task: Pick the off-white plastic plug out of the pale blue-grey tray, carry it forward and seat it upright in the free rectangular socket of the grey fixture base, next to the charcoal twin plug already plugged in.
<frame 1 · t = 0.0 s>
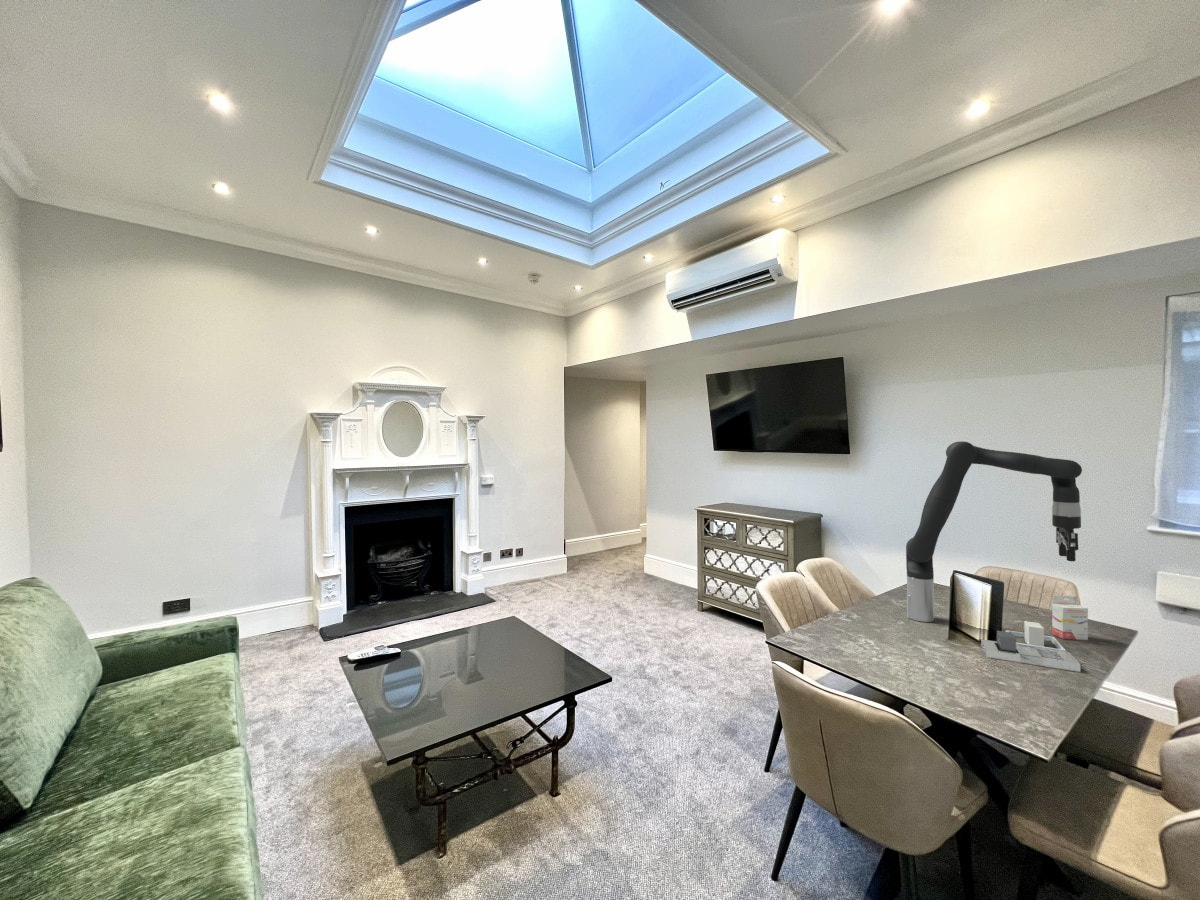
hand: (1067, 558, 175), 29 cm above the table, fingers open, 8 cm apart
grey fixture base: (1027, 658, 160), on the table
ink cartridge box: (1070, 637, 176), on the table
plug: (1034, 634, 171), in the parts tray
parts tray: (1034, 644, 171), on the table
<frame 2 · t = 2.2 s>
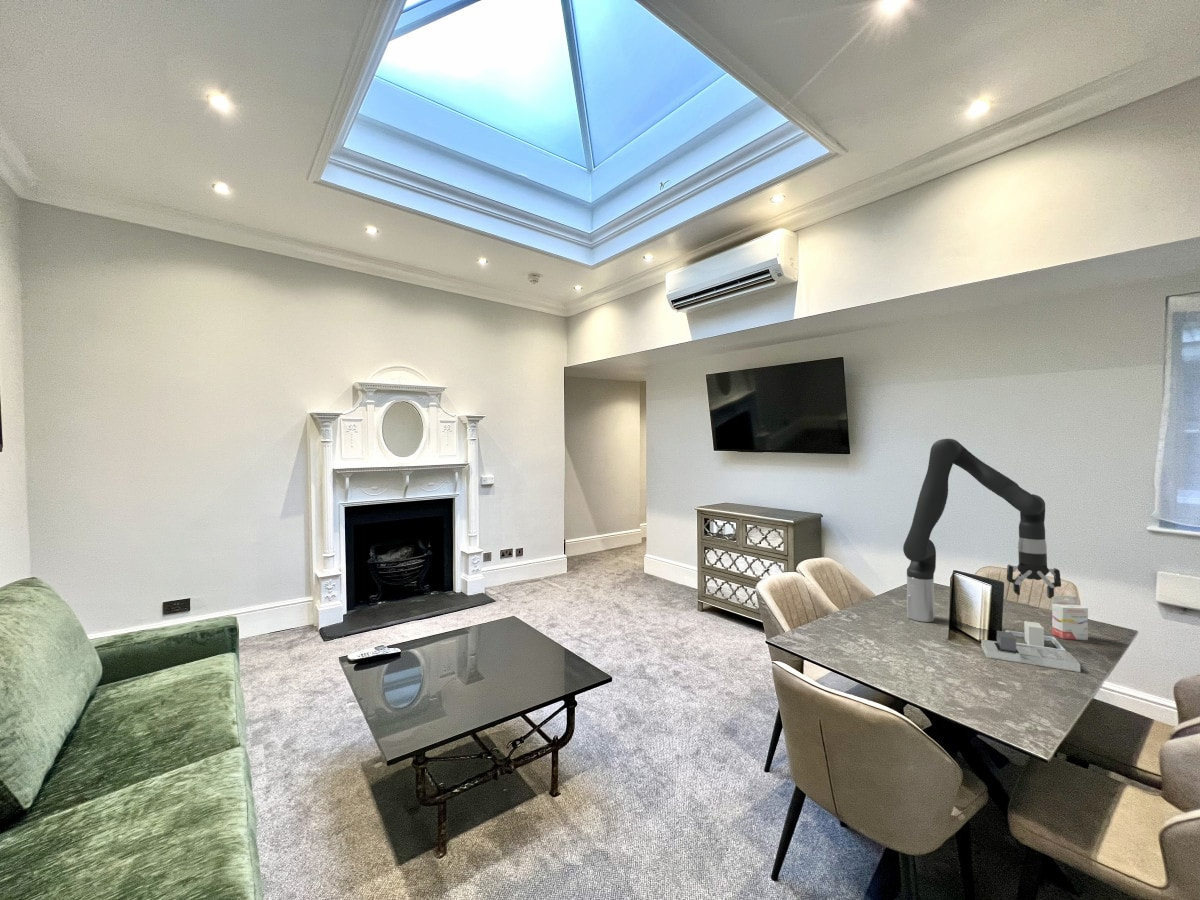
hand: (1033, 596, 171), 17 cm above the table, fingers open, 8 cm apart
nothing on the table moved.
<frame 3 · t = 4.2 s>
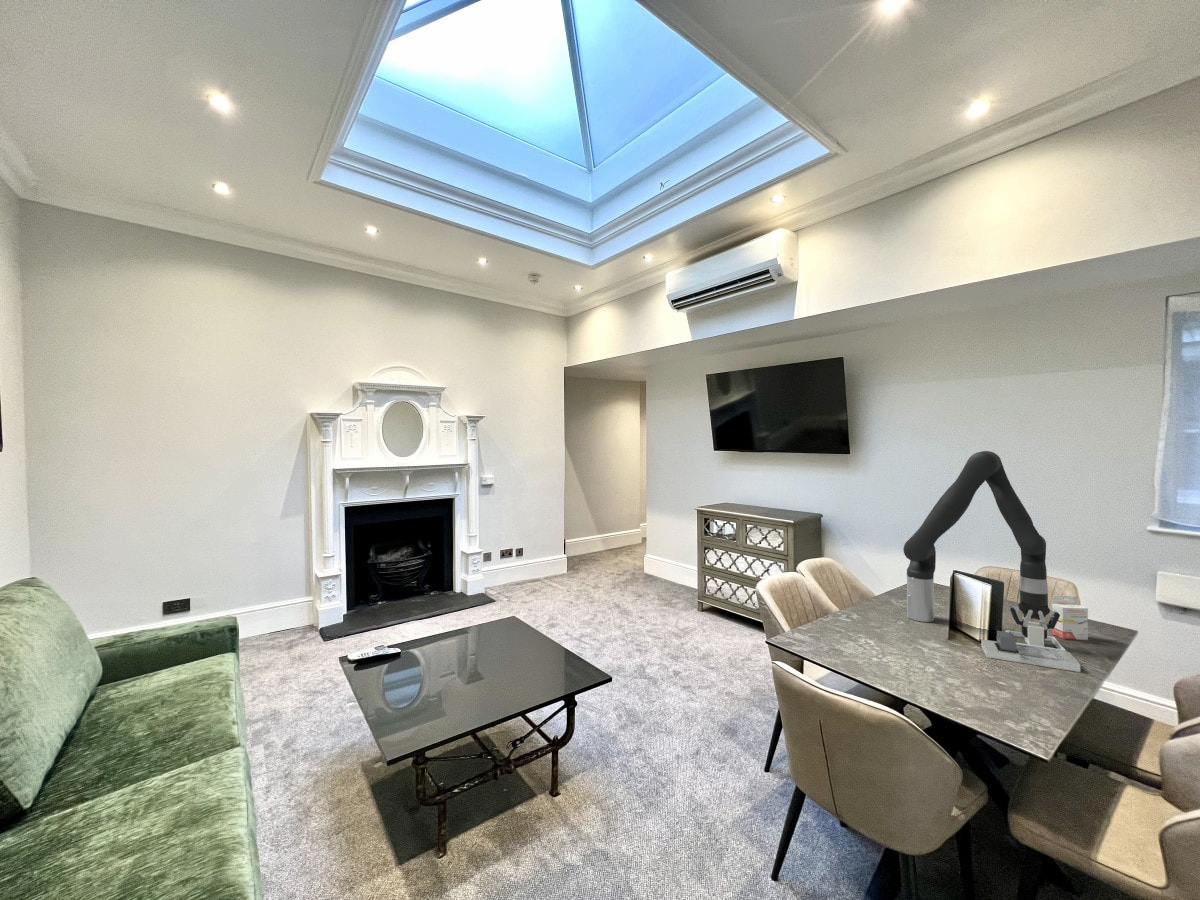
hand: (1034, 637, 171), 2 cm above the table, fingers closed on plug, 4 cm apart
plug: (1034, 634, 171), in the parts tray, touching gripper
everything else where it was.
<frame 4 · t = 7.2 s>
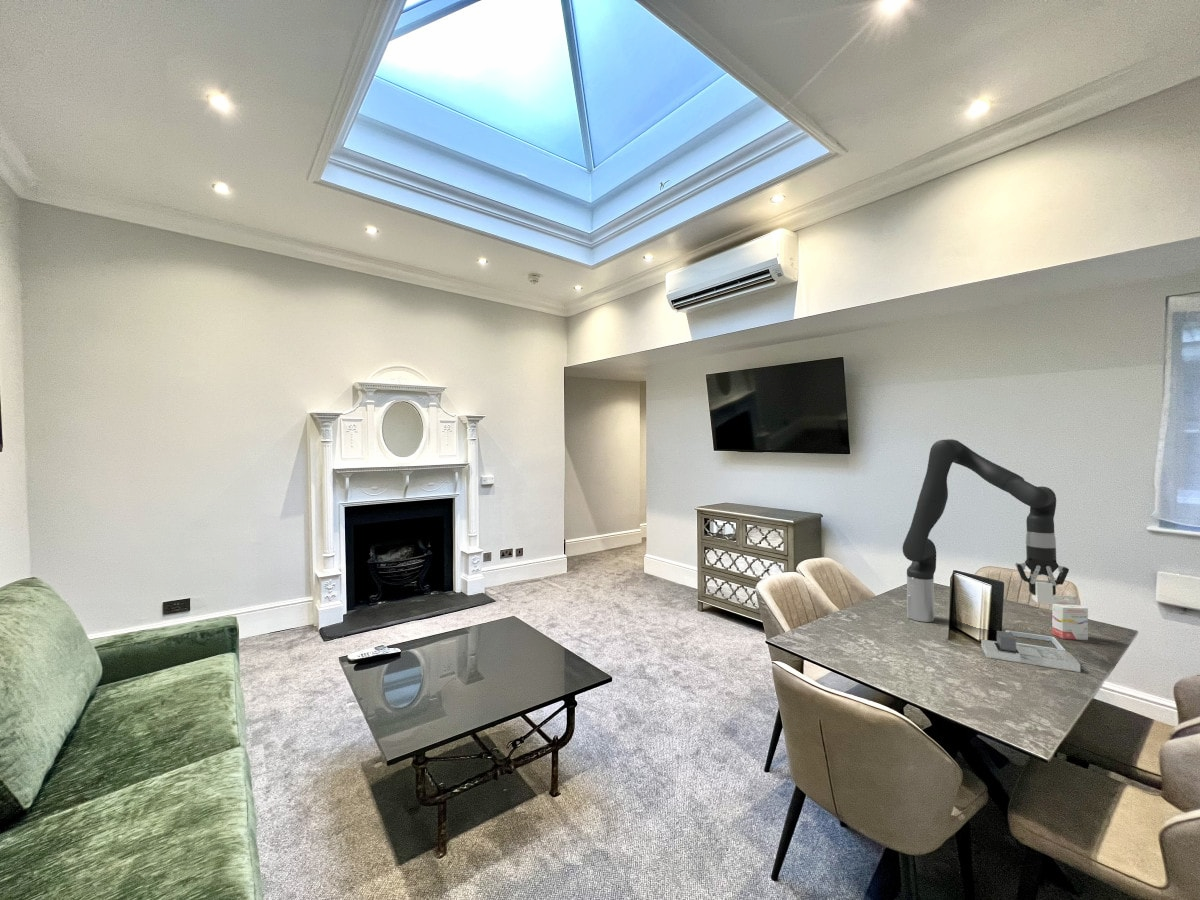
hand: (1042, 594, 164), 20 cm above the table, fingers closed on plug, 4 cm apart
plug: (1042, 591, 164), point 21 cm above the table, touching gripper
everything else where it was.
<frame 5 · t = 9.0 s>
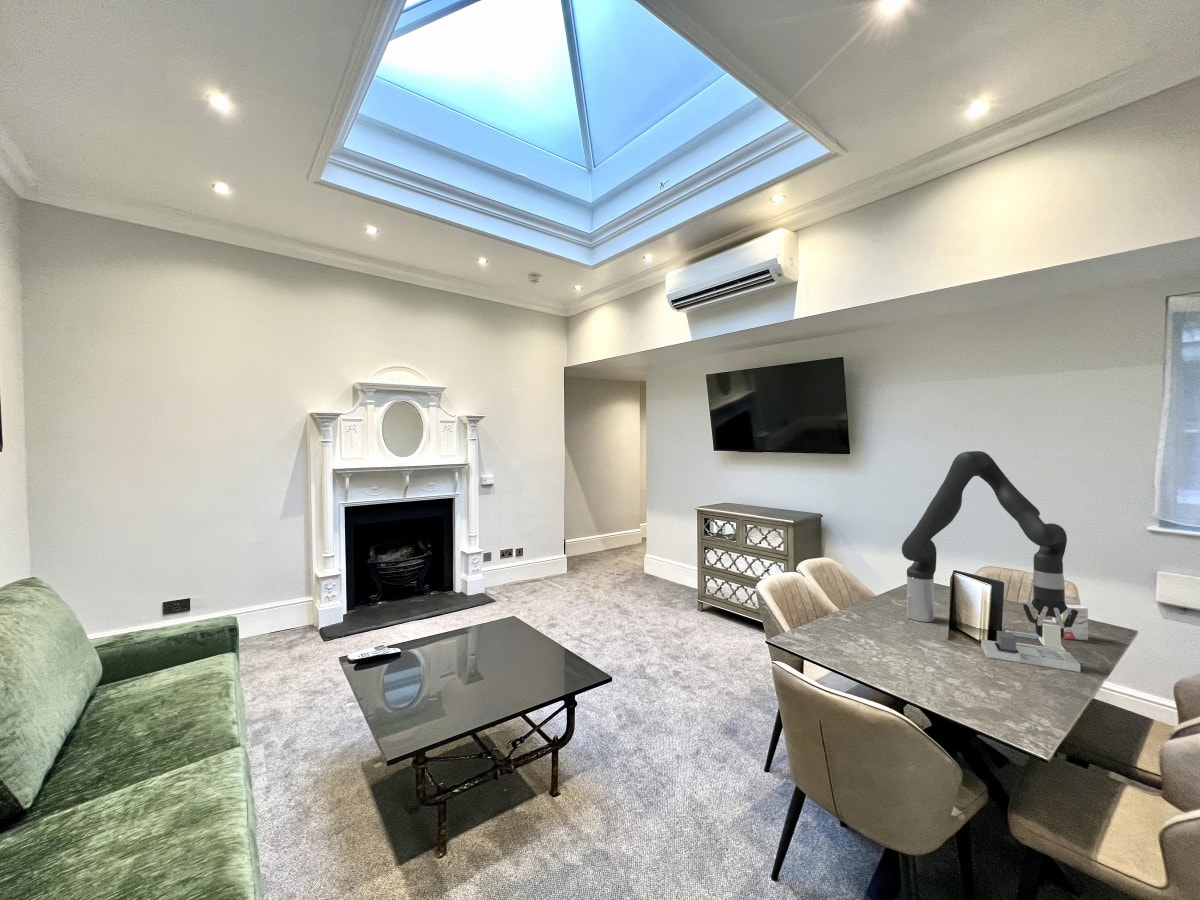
hand: (1049, 637, 157), 8 cm above the table, fingers closed on plug, 4 cm apart
plug: (1049, 633, 157), point 9 cm above the table, touching gripper
everything else where it was.
when the fingers open (3 cm above the table, at t = 10.4 s): plug stays where it is, resting in grey fixture base.
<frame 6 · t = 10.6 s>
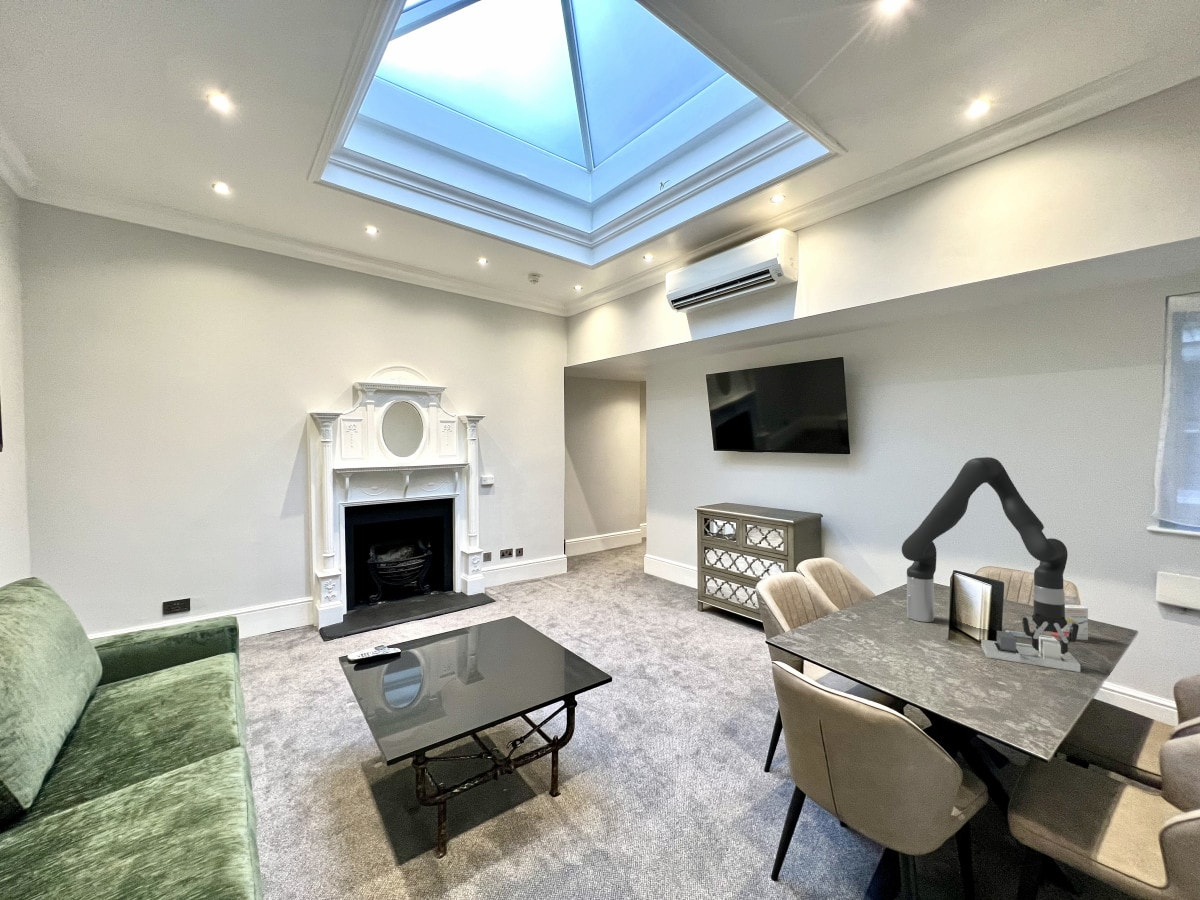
hand: (1049, 651, 157), 4 cm above the table, fingers open, 6 cm apart
plug: (1049, 651, 157), resting in grey fixture base
everything else where it was.
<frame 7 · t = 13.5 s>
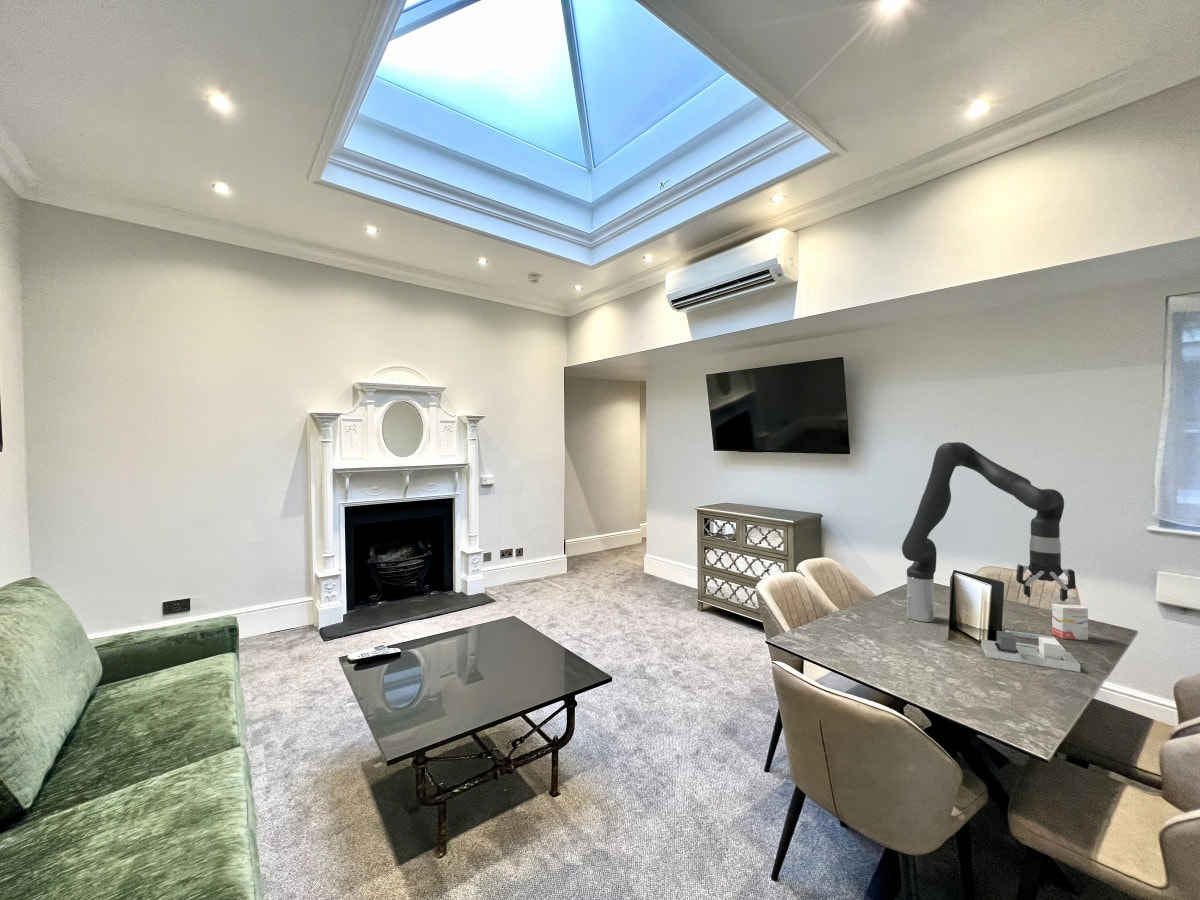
hand: (1045, 598, 158), 20 cm above the table, fingers open, 8 cm apart
nothing on the table moved.
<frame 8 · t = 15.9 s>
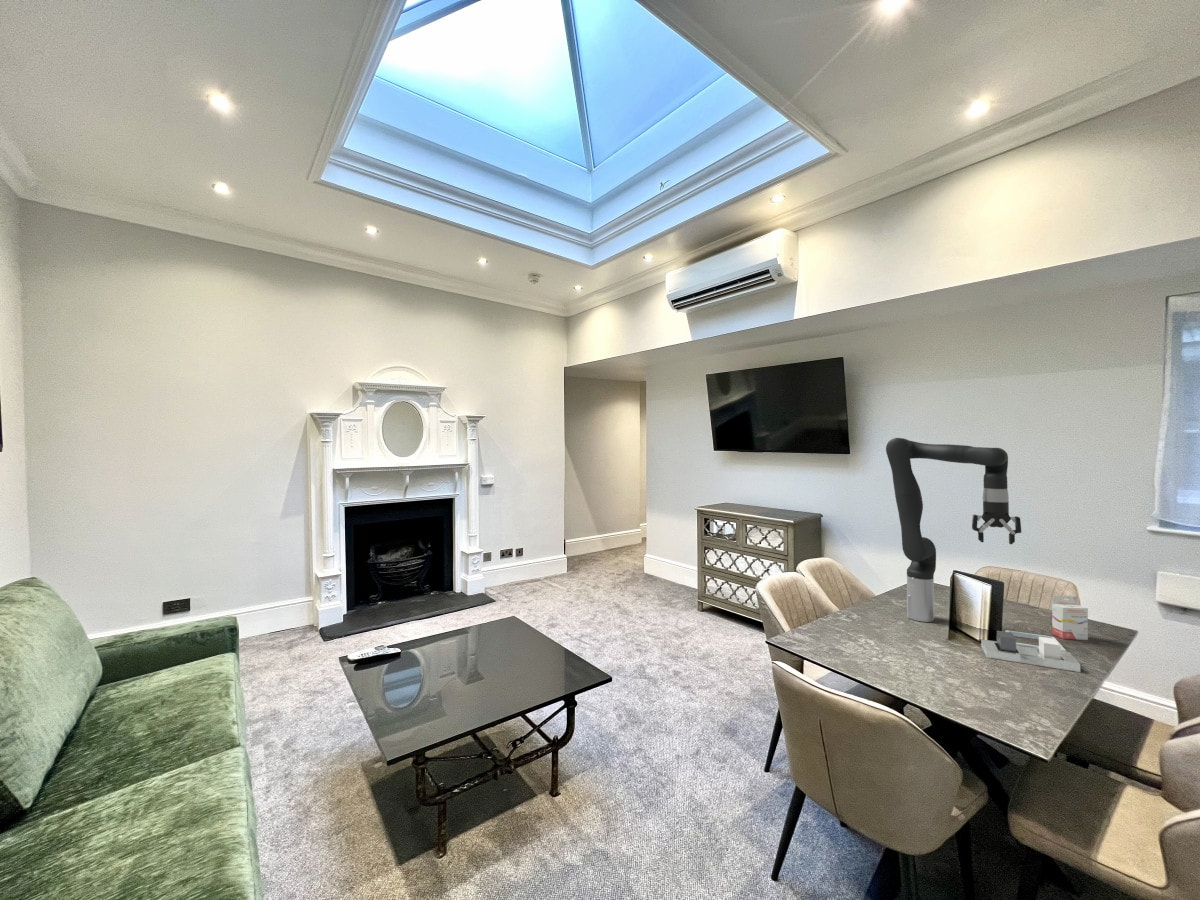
hand: (996, 543, 181), 34 cm above the table, fingers open, 8 cm apart
nothing on the table moved.
at the end: plug 0.0 cm from the target spot on the grey fixture base, point 3.4 cm above the grey fixture base's base; plug tilted 0°; the gripper is holding nothing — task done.
